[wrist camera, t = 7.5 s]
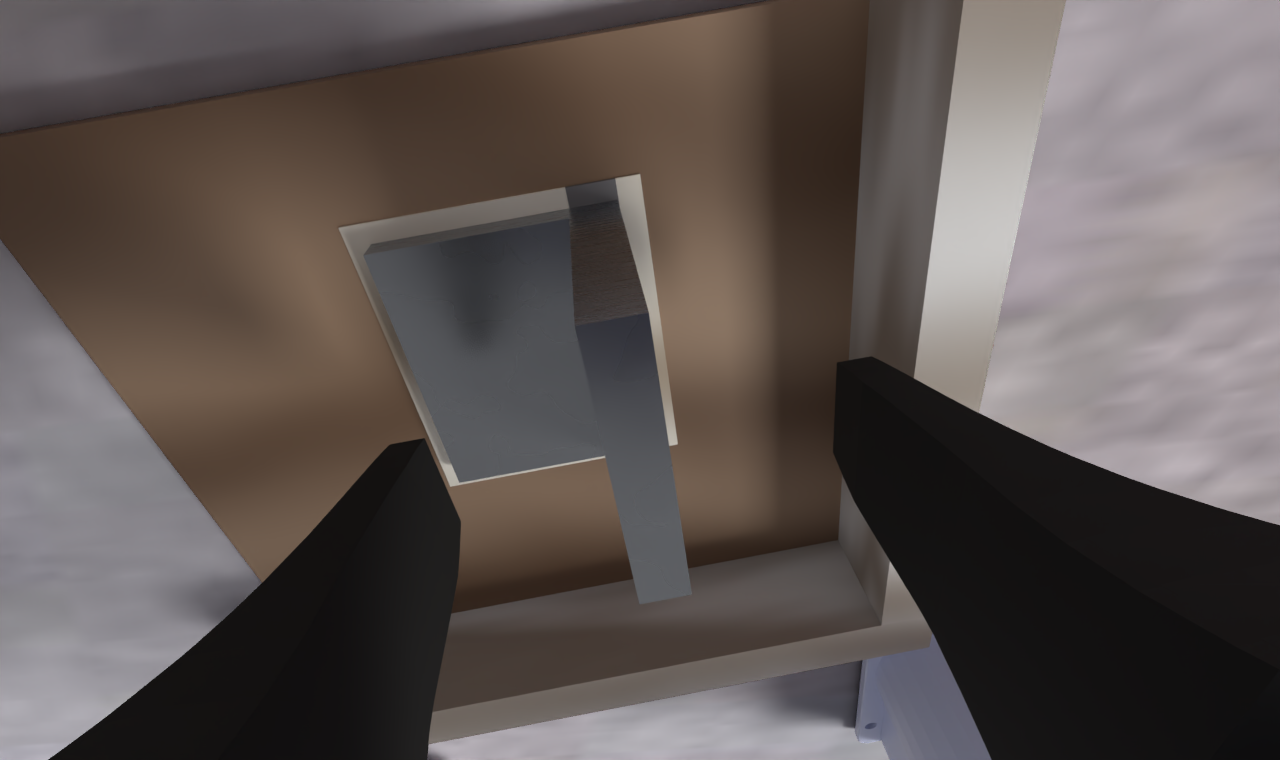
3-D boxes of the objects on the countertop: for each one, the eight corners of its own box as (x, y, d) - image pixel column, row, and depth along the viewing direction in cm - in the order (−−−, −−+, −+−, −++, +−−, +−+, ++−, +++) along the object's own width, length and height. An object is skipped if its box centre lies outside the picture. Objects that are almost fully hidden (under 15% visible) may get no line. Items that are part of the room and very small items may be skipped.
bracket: (617, 199, 12) (649, 312, 8) (656, 430, 16) (691, 594, 11) (370, 244, 12) (275, 380, 8) (462, 467, 16) (428, 644, 11)
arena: (871, 543, 20) (929, 647, 17) (335, 645, 20) (293, 770, 17) (930, -28, 12) (1072, -31, 8) (-31, 139, 11) (-261, 202, 8)
